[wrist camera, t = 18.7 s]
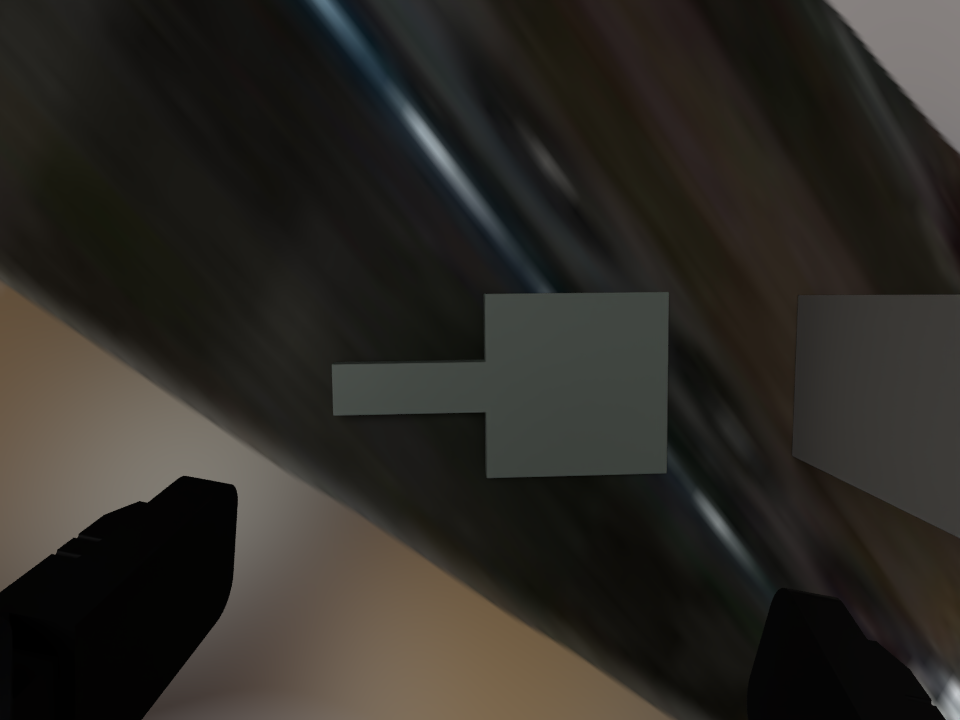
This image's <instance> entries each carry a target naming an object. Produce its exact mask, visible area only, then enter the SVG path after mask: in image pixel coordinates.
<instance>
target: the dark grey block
mask: <svg viewBox="0 0 960 720" xmlns="http://www.w3.org/2000/svg"><path fill="white" fill-rule="evenodd" d="M792 456H794V457H796V458H798V459H800V460H802V461H804V462H806V463H808V464H810V465H812V466H814V467H816V468H818V469H820V470H822V471H824V472H826V473H828V474H830V475H832V476H834V477H836V478H838V479H840V480H842V481H844V482H846V483H848V484H850V485H853V486H855V487H857V488H859V489H861V490H863V491H865V492H867V493H869V494H871V495H873V496H875V497H877V498H879V499H881V500H883V501H885V502H887V503H889V504H891V505H893V506H895V507H897V508H899V509H901V510H903V511H905V512H907V513H909V514H911V515H914V516H916V517H918V518H920V519H922V520H924V521H926V522H928V523H930V524H932V525H934V526H936V527H938V528H940V529H942V530H944V531H946V532H948V533H950V534H952V535H954V536H956V537H958V538H960V295H798V314H797V340H796V366H795V392H794V418H793V444H792Z"/></svg>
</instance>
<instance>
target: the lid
mask: <svg viewBox="0 0 960 720" xmlns="http://www.w3.org/2000/svg"><path fill="white" fill-rule="evenodd" d="M483 295H484V360H434V361H374V362H335V363H334V364H332V385H333V415H378V414H424V413H471V412H485V474H486V477H487V478H508V477H545V476H581V475H618V474H654V473H667V398H668V315H669V292H635V293H543V294H483Z"/></svg>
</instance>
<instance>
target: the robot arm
mask: <svg viewBox="0 0 960 720" xmlns="http://www.w3.org/2000/svg"><path fill="white" fill-rule="evenodd" d="M237 506H238V496H237V490H236V488H235V487H234V485H232V484H227V483H221V482H216V481H211V480H205V479H200V478H194V477H189V476H182V477H180V478H178V479H177V480H176V481H175V482H173V483H172V484H171V485H169V486H168V487H167V488H166V489H164V490H163V491H162V492H161V493H159V494H158V495H157V496H156V497H154V498H153V499H152V500H151V501H149V502H148V503H146V502H141V501H139V502H137V503H134V504H131V505H128V506H126V507H123V508H121V509H118V510H116V511H113V512H110V513H108V514H105V515H103V516H102V517H101V518H99V519H98V520H97V521H95V522H94V523H93V524H91V525H90V526H89V527H87V528H86V529H85V530H83V531H82V532H81V533H79V536H78V538H73V539H71V540H70V541H69V542H67V543H66V544H64V545H63V546H62V547H60V548H59V549H58V550H57V553H56V555H54V554H51V555H50V556H48V557H47V558H46V559H44V560H43V561H42V562H40V563H39V564H38V565H36V566H35V567H34V568H32V569H31V570H29V571H28V572H27V573H25V574H24V575H23V576H21V577H20V578H19V579H17V580H16V581H15V582H13V583H12V584H11V585H9V586H8V587H7V588H5V589H4V590H3V591H1V592H0V720H142V719H143V717H144V716H145V715H146V713H147V712H148V711H149V709H150V708H151V707H152V706H153V704H154V703H155V702H156V700H157V699H158V698H159V696H160V695H161V694H162V693H163V691H164V690H165V689H166V687H167V686H168V685H169V683H170V682H171V681H172V680H173V678H174V677H175V676H176V674H177V673H178V672H179V670H180V669H181V668H182V667H183V665H184V664H185V662H186V661H187V660H188V659H189V657H190V656H191V655H192V654H193V652H194V651H195V650H196V648H197V647H198V646H199V644H200V643H201V642H202V640H203V639H204V638H205V637H206V635H207V634H208V633H209V631H210V630H211V629H212V627H213V626H214V625H215V624H216V622H217V621H218V619H219V618H220V616H221V614H222V613H223V610H224V608H225V606H226V603H227V601H228V598H229V595H230V591H231V587H232V581H233V571H234V555H235V554H234V553H235V538H236V521H237ZM747 714H748V720H946V719H945V718H944V717H943V715H942V714H941V712H940V711H939V710H938V708H937V707H936V706H933V705H932V704H931V698H930V697H929V696H928V694H927V693H926V691H925V690H924V689H923V687H922V686H921V684H920V683H919V682H918V680H917V679H916V677H915V676H914V675H913V673H912V672H911V670H910V669H909V668H907V667H906V666H905V665H904V664H903V663H901V662H900V661H899V660H898V659H897V658H895V657H894V656H893V655H892V654H891V653H889V652H888V651H887V650H886V649H885V648H884V647H882V646H881V645H880V644H879V643H878V642H876V641H871V640H867V638H866V637H865V635H864V634H863V632H862V631H861V629H860V628H859V626H858V625H857V623H856V622H855V620H854V619H853V617H852V616H851V614H850V613H849V611H848V610H847V608H846V607H845V606H844V604H843V603H842V602H841V600H839V599H838V598H835V597H830V596H825V595H820V594H814V593H809V592H803V591H798V590H793V589H787V588H781V589H779V590H778V591H777V592H776V594H775V595H774V598H773V600H772V603H771V606H770V609H769V613H768V616H767V620H766V623H765V627H764V630H763V634H762V637H761V640H760V644H759V647H758V651H757V654H756V658H755V661H754V665H753V668H752V671H751V675H750V679H749V684H748V691H747Z"/></svg>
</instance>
